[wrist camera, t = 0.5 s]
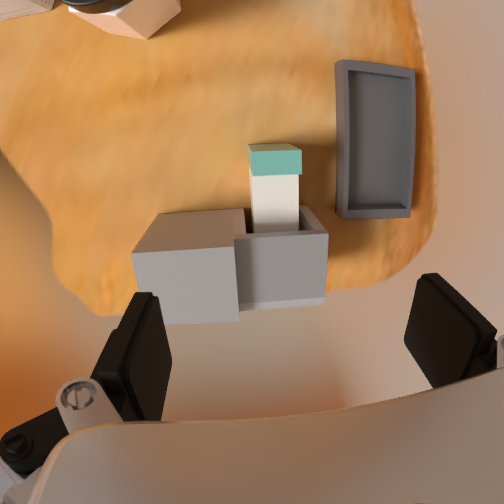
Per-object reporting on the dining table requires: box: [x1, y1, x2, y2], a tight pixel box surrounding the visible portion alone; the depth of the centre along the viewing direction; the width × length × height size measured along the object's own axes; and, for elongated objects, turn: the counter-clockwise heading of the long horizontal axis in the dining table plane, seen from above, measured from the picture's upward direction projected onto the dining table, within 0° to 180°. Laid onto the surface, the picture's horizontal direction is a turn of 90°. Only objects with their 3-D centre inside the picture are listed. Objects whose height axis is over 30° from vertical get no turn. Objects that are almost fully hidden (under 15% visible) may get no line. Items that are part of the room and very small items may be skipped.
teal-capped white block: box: [248, 143, 302, 233], centre depth 30 cm, size 11×4×6 cm, turn 3°
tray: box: [335, 60, 416, 220], centre depth 30 cm, size 16×8×2 cm, turn 3°
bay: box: [131, 205, 329, 325], centre depth 30 cm, size 7×16×10 cm, turn 93°
